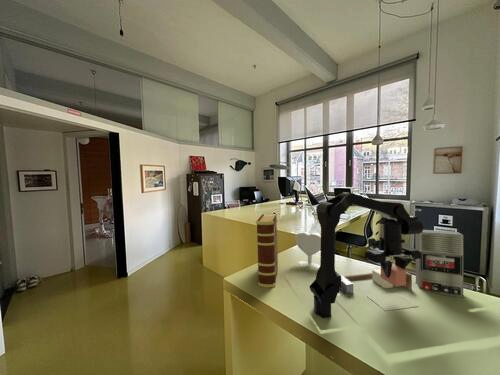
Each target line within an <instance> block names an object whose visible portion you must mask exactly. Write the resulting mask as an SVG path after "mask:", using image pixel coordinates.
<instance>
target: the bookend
mask: <svg viewBox="0 0 500 375" xmlns="http://www.w3.org/2000/svg"><path fill="white" fill-rule="evenodd" d="M338 274H339V275H341V287H342V288H340V291H339V293H338V294H337V296H343V295H344V296H345V295H351V294H354V283H353V282H351V280H347V279H346V278H345V277H344V276H345V275H343V274H341V273H338Z"/></svg>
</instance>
